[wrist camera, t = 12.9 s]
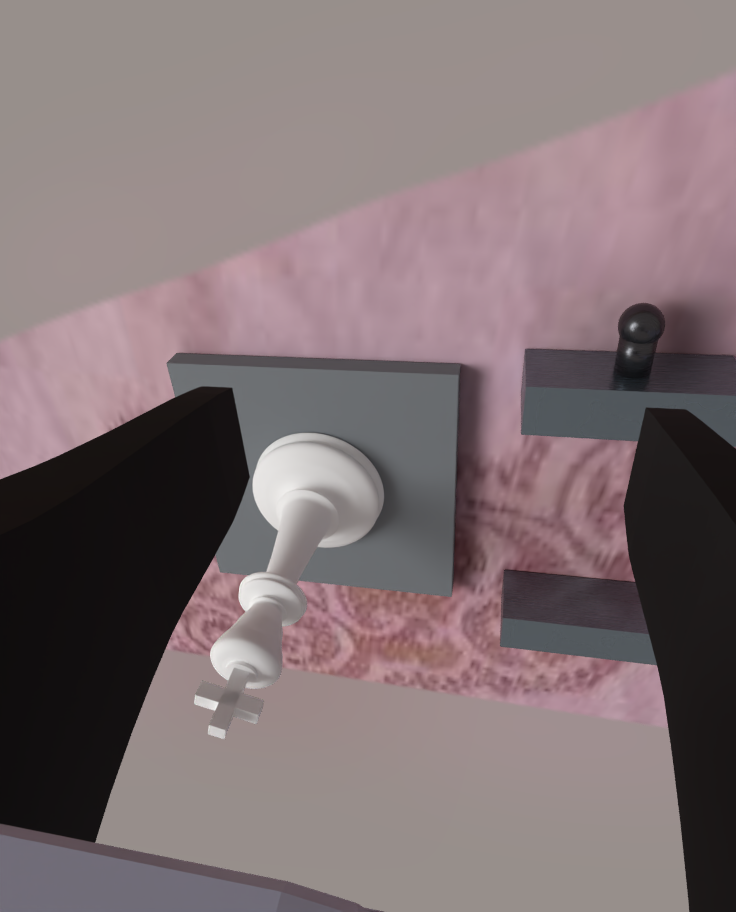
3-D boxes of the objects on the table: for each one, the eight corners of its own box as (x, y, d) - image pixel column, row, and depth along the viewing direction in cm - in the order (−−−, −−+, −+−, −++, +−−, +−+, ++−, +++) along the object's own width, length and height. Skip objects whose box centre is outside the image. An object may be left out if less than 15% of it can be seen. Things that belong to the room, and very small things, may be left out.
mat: (460, 363, 21) (458, 375, 20) (453, 582, 26) (451, 596, 26) (176, 353, 22) (166, 363, 22) (226, 559, 28) (220, 572, 27)
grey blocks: (752, 290, 18) (782, 325, 16) (655, 614, 25) (668, 666, 23) (530, 286, 19) (532, 319, 17) (501, 598, 26) (500, 646, 24)
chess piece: (367, 552, 25) (295, 807, 17) (249, 515, 25) (122, 751, 17) (399, 456, 22) (331, 709, 14) (264, 414, 22) (121, 642, 14)
